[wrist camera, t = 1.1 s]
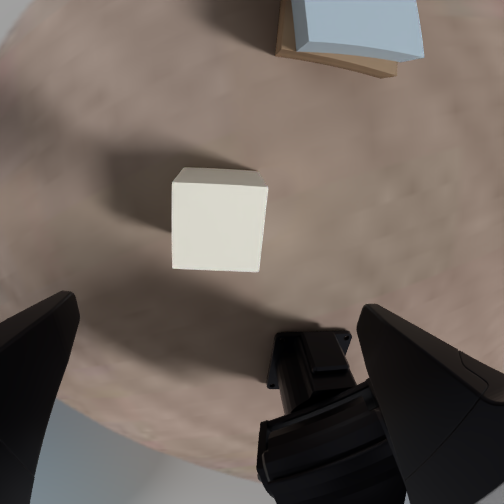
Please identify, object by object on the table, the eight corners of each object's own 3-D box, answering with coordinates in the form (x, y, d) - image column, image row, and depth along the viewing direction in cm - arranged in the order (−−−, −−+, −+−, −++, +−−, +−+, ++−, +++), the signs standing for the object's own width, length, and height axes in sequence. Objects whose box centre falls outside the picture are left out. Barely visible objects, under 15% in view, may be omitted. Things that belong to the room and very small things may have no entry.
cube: (251, 239, 20) (258, 272, 16) (182, 235, 20) (172, 268, 16) (257, 170, 18) (268, 187, 14) (183, 166, 18) (172, 182, 14)
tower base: (377, 79, 17) (396, 76, 14) (273, 57, 16) (281, 49, 13) (381, -6, 14) (398, -17, 11) (282, -32, 13) (290, -48, 11)
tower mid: (400, 62, 14) (424, 57, 12) (296, 51, 14) (309, 41, 11) (387, -26, 11) (407, -38, 9) (285, -42, 11) (295, -62, 9)
